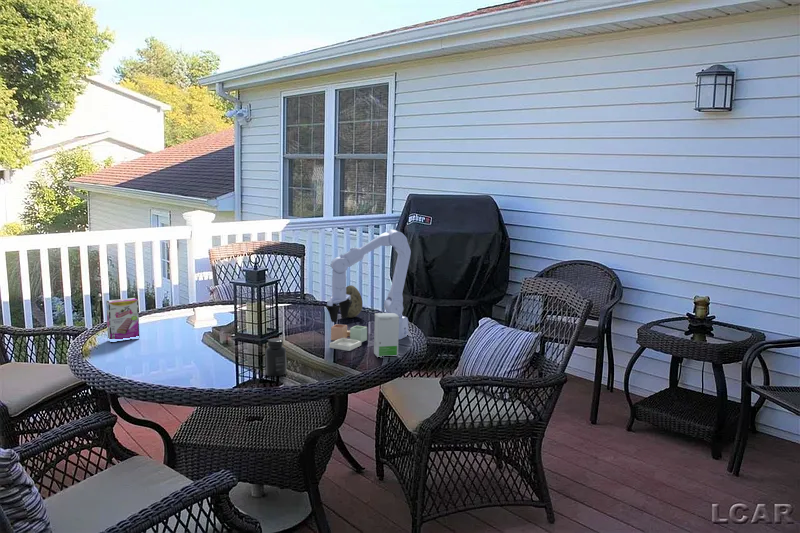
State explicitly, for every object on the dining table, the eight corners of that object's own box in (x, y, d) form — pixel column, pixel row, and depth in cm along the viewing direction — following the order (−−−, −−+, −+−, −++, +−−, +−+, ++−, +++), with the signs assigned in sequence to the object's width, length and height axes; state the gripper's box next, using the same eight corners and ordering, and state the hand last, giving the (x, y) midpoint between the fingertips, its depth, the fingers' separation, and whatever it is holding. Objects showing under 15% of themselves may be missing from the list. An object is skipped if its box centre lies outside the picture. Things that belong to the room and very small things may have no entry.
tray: (361, 345, 258) (361, 340, 257) (349, 351, 250) (349, 346, 250) (341, 342, 262) (341, 337, 261) (329, 347, 254) (329, 343, 254)
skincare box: (377, 358, 241) (377, 317, 239) (373, 353, 248) (373, 313, 245) (399, 356, 244) (399, 316, 241) (394, 351, 250) (395, 312, 247)
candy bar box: (110, 343, 255) (108, 302, 252) (107, 340, 259) (105, 300, 256) (140, 339, 261) (138, 299, 259) (137, 336, 265) (135, 297, 263)
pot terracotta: (347, 338, 268) (347, 325, 267) (342, 341, 263) (342, 328, 262) (335, 337, 269) (335, 324, 269) (331, 340, 265) (331, 327, 264)
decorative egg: (346, 313, 310) (346, 282, 308) (366, 316, 305) (366, 284, 303) (334, 318, 301) (334, 286, 298) (355, 321, 296) (355, 288, 293)
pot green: (367, 340, 266) (367, 326, 265) (360, 343, 261) (360, 329, 260) (356, 338, 268) (356, 325, 267) (350, 341, 264) (350, 328, 263)
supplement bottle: (287, 370, 225) (287, 337, 223) (284, 377, 219) (284, 342, 217) (267, 370, 225) (267, 337, 223) (264, 377, 218) (263, 342, 216)
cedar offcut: (360, 335, 273) (360, 331, 273) (358, 337, 270) (358, 332, 270) (346, 334, 274) (346, 330, 274) (344, 336, 271) (344, 331, 271)
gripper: (340, 283, 271) (340, 315, 273) (320, 289, 258) (320, 322, 260) (354, 284, 268) (354, 317, 270) (335, 290, 255) (335, 324, 257)
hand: (339, 320), depth 265 cm, fingers open, 7 cm apart
